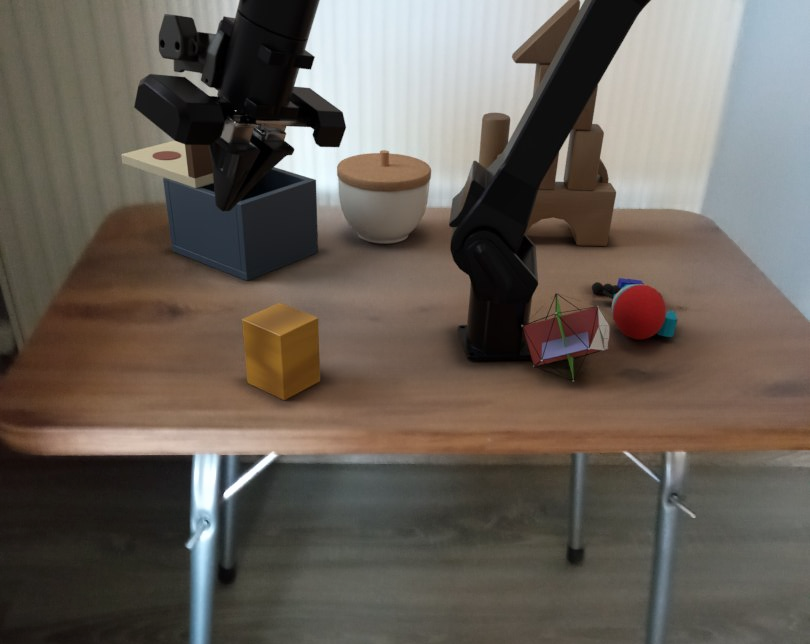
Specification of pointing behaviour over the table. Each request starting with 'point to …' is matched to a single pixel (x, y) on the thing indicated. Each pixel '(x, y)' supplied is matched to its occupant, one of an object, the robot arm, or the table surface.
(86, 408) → the table surface
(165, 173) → the lid
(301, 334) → the block
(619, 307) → the toy figure
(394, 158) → the trinket box
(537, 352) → the geometric puzzle
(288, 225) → the box
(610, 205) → the wooden toy
